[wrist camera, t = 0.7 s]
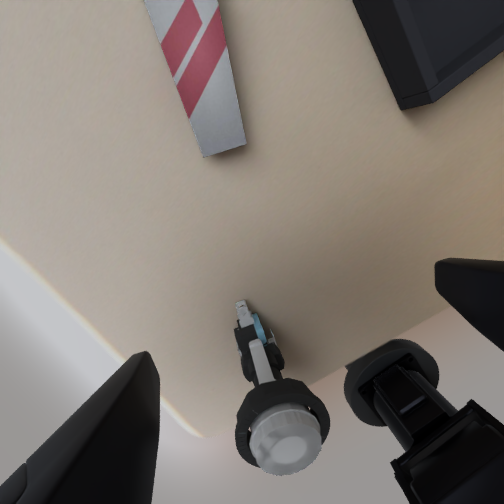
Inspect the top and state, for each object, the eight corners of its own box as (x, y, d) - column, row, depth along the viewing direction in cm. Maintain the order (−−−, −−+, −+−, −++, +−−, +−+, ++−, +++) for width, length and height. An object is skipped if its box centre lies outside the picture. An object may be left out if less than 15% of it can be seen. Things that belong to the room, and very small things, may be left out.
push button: (207, 309, 23) (213, 415, 14) (271, 286, 23) (320, 373, 14) (235, 373, 25) (256, 501, 16) (292, 350, 26) (346, 463, 16)
